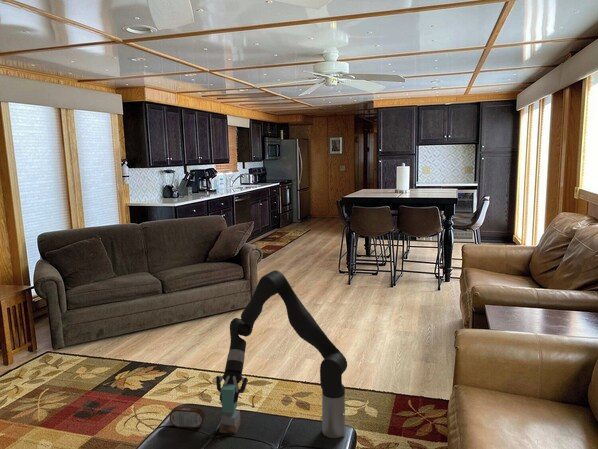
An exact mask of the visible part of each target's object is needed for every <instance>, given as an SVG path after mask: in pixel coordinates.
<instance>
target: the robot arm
mask: <svg viewBox="0 0 598 449" xmlns="http://www.w3.org/2000/svg"><path fill="white" fill-rule="evenodd" d="M257 282H258V283H257V284H256V287H255V290H254V293H253V294H252V297H251V299H250V300H249V302H248V304H247V305H246V306H245V308H244V309H243V311H242V313H241V314H240V318H238V317H235V318H232V320H231V321H230V323H229V334H230V344H229V350H228V354H227V358H226V363H225V367H224V373H223V375H222V376H221V375H220V376H219V375H217V376H216V377H215V378H216V382H215V383H216V390H217V391H218V392H219V393H220V394H219V401H220V402H221V403H222V393H221V389H222V387H223V386H224V385H226V384H234V385H236V389H235V395H234V401H233V402H234V403H236V402H237V403H238V400H239V395H240V394H243V393H244V392H245V390H246V387H247V384H248V383H249V379H248V378H247V377H243V370H244V365H245V358H246V357H245V354H246V347H247V341H246V340H245V339H244V338H242V337H249V336H251V335H252V333H253V328H254V325H255V323H256V321H257V319H258V318H259V317H260V315H261V314H262V312H263V308H264V305H265V303H266V302H267V300H269V299H270V298H272V297H273V296H276V294H278V296H279V297H280V298H281V300H282V301H283V303H284V305H285V308H286V309H285V310H286V314H287V318H288V322H289V324H290V326H291V327H292V328H293V330H294V332H295V333H296V334H297V335H298V336H299V337H300V338H301V339H302V340H303V341H305V342H306V343H307V344H309V345H310V346H312V347H314V348H315V349H316V350H317V351H318V353H319V354H320V355H321V357H322V358H323V359H322V361H321V363H320V366H319V378H320V381H319V382H320V383H319V385H320V389H321V390H322V391H321V396H322V398H321V399H322V401H321V402H322V403H321V404H322V405H321V406H322V408H321V409H322V411H321V412H322V418H321V419H322V422H321V424H322V427H321V428H322V432H321V433H322V434H323V435H324V437H326V436H327V437H326V438H329V439H339V438H342V437H343V438H344V437H345V435H346V434H345V433H346V431H345V430H346V407H345V406H346V404H345V403H346V402H345V400H346V398H345V396H346V388H345V385H344V384H343V382H342V380H343V378H342V377H343V374H344V373H345V372H346V371H347V367H348V360H347V358H346V357H345V355H344V354H343V352H341V350H340V349H339V348H337V347H336V345H335V344H334V343H333V342H332V341H331V340H330V339H329V337H328V335H326V333H325V332H324V330H322V327H320V326H319V324H318V323H317V321H316V320H315V319H314V317H313V316H312V314H311V313H310V312H309V310H308V309H307V308H306V307H305V305H304V304H303V303H302V301H301V299H300V298H299V297H298V295H297V294H296V293H295V290H294V289H293V287H292V286H291V284H290V283H289V281H288V279H287V278H286V276H285V275H284V274H283V273H282V272H281V271H279V270H272V271H270V272H269V273H266V274H264V275H263V276H262V277H261V278H260V279H259V281H257ZM241 336H242V337H241ZM222 381H224V382H223V383H222ZM241 382H242V384H241V386H240V387H239V384H240V383H241ZM221 383H222V384H221Z"/></svg>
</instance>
